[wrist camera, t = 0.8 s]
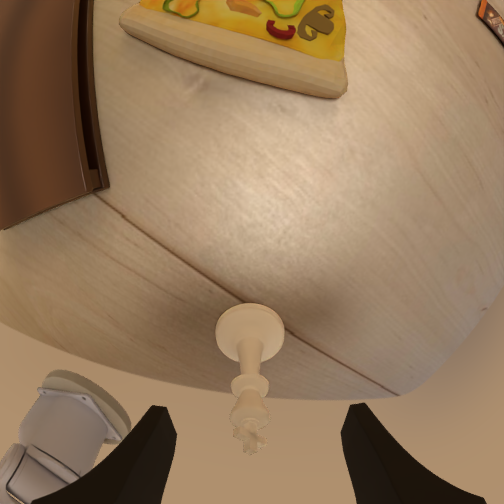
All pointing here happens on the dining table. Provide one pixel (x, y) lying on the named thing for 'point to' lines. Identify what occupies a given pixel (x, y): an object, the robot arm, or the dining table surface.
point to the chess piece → (250, 365)
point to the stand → (47, 108)
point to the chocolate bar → (492, 19)
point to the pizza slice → (251, 39)
